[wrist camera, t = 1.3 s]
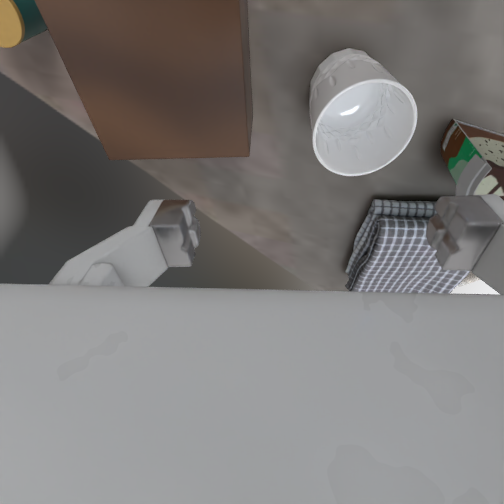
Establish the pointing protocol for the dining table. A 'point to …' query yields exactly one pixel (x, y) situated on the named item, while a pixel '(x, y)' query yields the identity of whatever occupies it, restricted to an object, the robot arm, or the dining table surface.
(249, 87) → the cabinet
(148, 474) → the robot arm
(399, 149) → the white cup
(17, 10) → the tea tin
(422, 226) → the towel
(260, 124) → the dining table surface
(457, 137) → the food container
